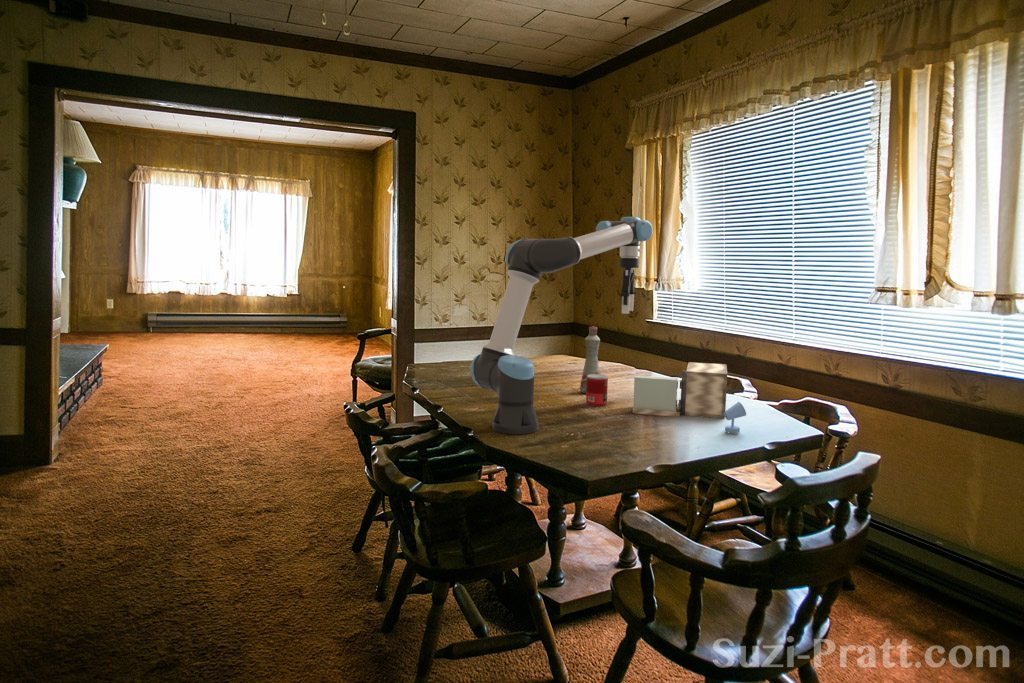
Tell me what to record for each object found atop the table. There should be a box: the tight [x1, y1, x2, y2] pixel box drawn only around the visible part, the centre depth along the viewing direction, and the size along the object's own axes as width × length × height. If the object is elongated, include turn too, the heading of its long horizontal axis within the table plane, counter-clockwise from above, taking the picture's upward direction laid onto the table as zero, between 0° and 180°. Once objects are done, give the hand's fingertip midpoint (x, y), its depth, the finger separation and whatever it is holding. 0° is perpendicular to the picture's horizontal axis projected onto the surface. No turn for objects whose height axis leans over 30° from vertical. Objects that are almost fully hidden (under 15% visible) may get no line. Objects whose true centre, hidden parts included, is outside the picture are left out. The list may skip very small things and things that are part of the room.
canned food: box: [585, 374, 609, 407], centre depth 253 cm, size 8×8×11 cm
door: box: [632, 375, 679, 412], centre depth 240 cm, size 15×4×13 cm, turn 73°
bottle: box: [579, 325, 601, 395], centre depth 273 cm, size 9×9×28 cm
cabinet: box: [632, 361, 728, 419], centre depth 246 cm, size 32×25×16 cm
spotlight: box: [724, 401, 747, 434], centre depth 215 cm, size 5×10×7 cm
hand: (627, 312), depth 259 cm, fingers open, 13 cm apart
